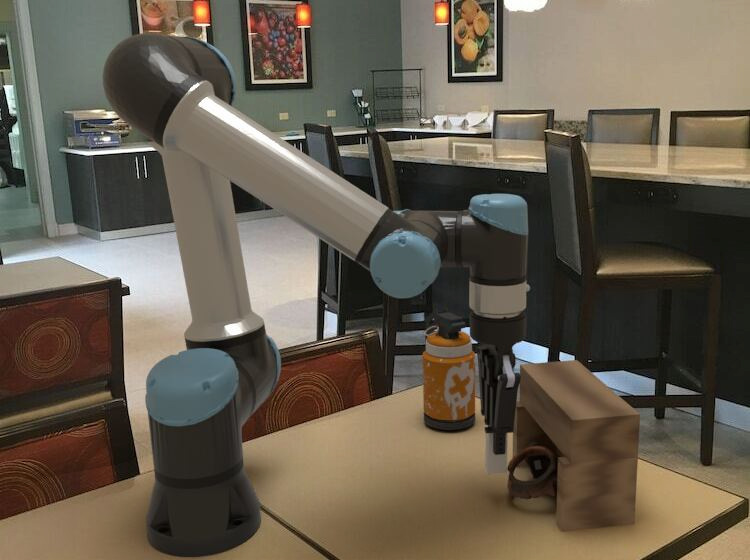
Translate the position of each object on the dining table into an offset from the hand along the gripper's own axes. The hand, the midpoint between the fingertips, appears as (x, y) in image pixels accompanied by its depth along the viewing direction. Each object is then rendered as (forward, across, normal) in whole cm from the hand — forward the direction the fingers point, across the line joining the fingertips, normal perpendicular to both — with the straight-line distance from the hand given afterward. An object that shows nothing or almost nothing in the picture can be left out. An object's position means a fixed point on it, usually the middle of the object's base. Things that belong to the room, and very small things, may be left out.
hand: (496, 470), depth 112 cm
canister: (+5, +28, +1) cm, 28 cm away
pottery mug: (+5, +1, -8) cm, 10 cm away
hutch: (+4, 0, -6) cm, 8 cm away
